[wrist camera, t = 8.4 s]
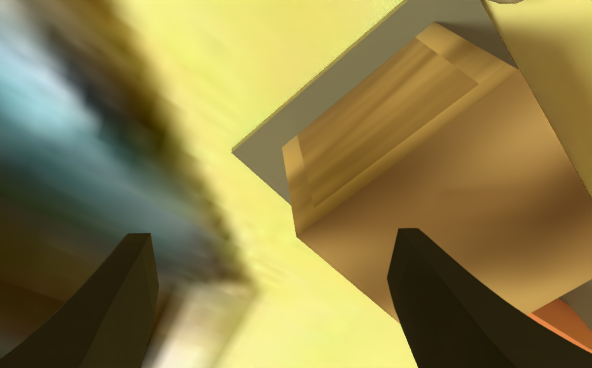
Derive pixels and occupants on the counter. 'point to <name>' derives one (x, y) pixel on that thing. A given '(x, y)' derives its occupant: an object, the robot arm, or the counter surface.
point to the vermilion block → (564, 323)
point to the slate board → (355, 68)
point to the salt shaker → (506, 1)
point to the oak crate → (443, 176)
